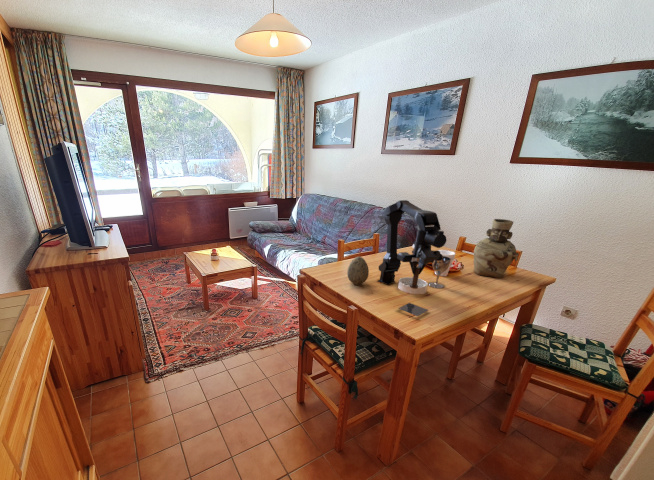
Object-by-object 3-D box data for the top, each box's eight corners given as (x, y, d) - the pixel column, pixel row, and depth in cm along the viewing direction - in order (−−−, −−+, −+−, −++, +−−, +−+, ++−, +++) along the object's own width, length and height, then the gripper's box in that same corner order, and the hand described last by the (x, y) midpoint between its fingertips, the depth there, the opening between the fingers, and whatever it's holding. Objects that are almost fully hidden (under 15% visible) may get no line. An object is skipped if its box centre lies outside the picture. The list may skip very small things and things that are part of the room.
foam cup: (432, 275, 173) (436, 253, 168) (431, 270, 181) (435, 249, 176) (451, 278, 170) (456, 255, 165) (449, 272, 178) (454, 251, 173)
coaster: (397, 311, 135) (398, 308, 134) (408, 305, 140) (409, 302, 139) (417, 319, 128) (417, 316, 128) (428, 313, 133) (428, 309, 133)
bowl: (392, 290, 155) (393, 281, 153) (406, 283, 163) (408, 275, 161) (417, 299, 146) (418, 289, 144) (431, 292, 153) (432, 282, 151)
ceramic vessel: (499, 282, 164) (516, 226, 153) (462, 270, 182) (474, 219, 170) (519, 276, 173) (536, 223, 161) (481, 265, 190) (494, 216, 178)
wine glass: (446, 289, 157) (452, 261, 151) (429, 287, 158) (435, 260, 152) (442, 282, 164) (448, 256, 158) (426, 281, 165) (431, 255, 160)
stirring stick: (408, 286, 144) (411, 266, 140) (412, 284, 146) (416, 265, 142) (415, 289, 141) (419, 269, 137) (419, 287, 143) (423, 267, 139)
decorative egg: (342, 281, 166) (345, 254, 160) (361, 279, 169) (363, 253, 163) (352, 289, 157) (354, 261, 151) (371, 286, 159) (374, 259, 153)
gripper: (412, 247, 126) (406, 282, 133) (454, 245, 129) (446, 280, 135) (399, 240, 136) (393, 272, 143) (438, 238, 139) (431, 270, 145)
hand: (416, 274), depth 141 cm, fingers closed on stirring stick, 2 cm apart
